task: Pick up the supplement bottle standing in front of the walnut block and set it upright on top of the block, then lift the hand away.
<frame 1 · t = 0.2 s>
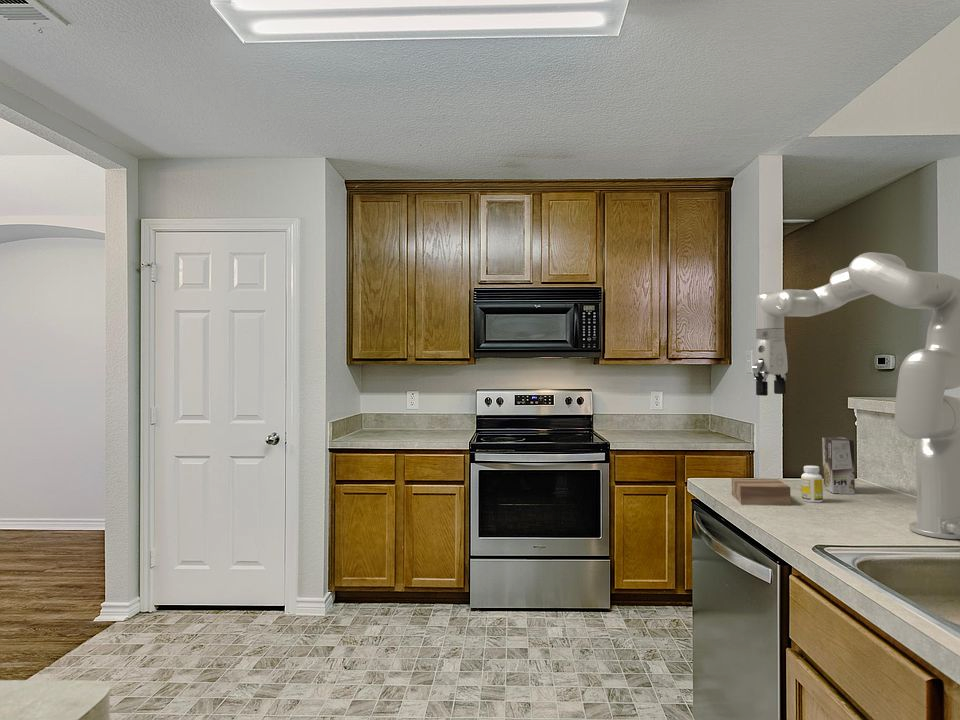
hand: (771, 394, 189), 30 cm above the counter, tool pointing down, fingers open, 9 cm apart
walnut block: (760, 499, 189), on the counter
coffee box: (838, 491, 199), on the counter
supplement bottle: (812, 501, 186), on the counter
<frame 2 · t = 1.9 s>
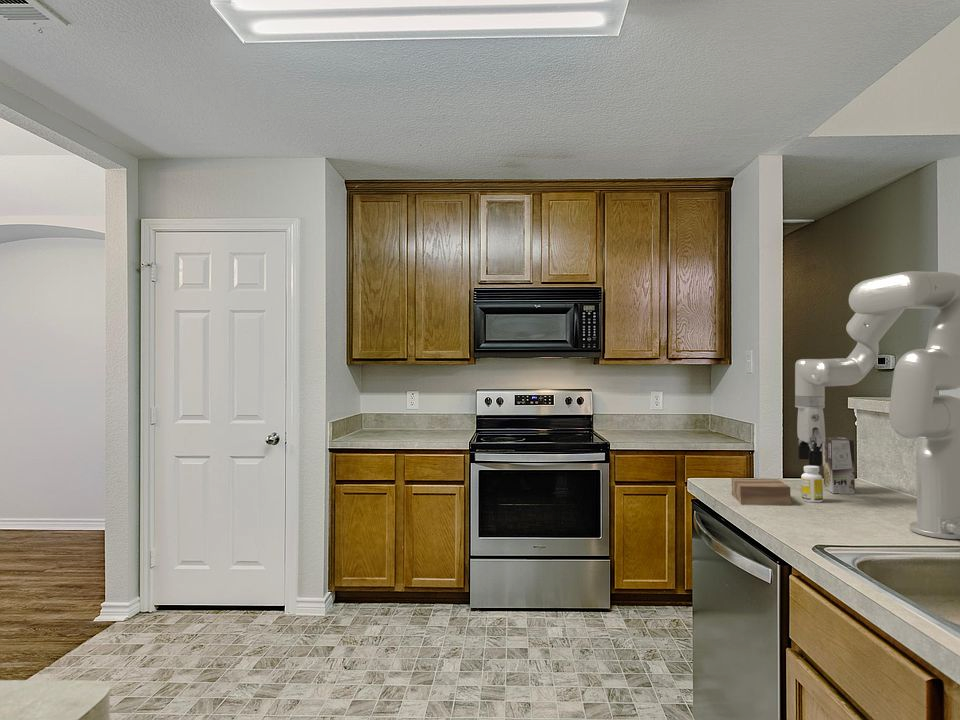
hand: (809, 462, 187), 11 cm above the counter, tool pointing down, fingers open, 9 cm apart
nothing on the counter moved.
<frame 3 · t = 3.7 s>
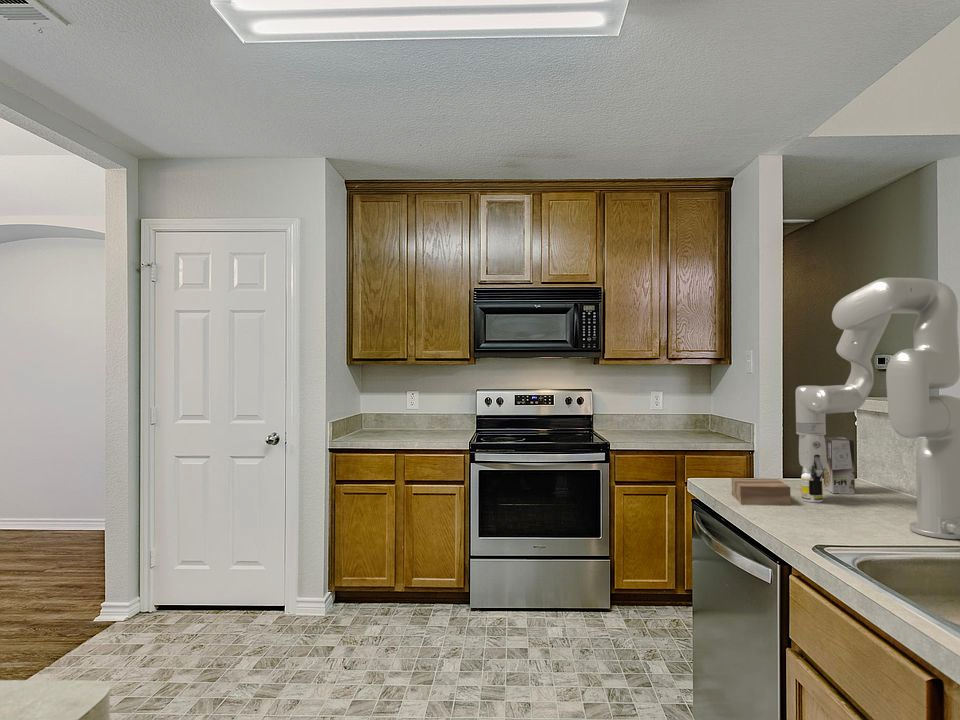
hand: (812, 492, 186), 3 cm above the counter, tool pointing down, fingers closed on supplement bottle, 5 cm apart
supplement bottle: (812, 501, 186), on the counter, touching gripper
everything else where it was.
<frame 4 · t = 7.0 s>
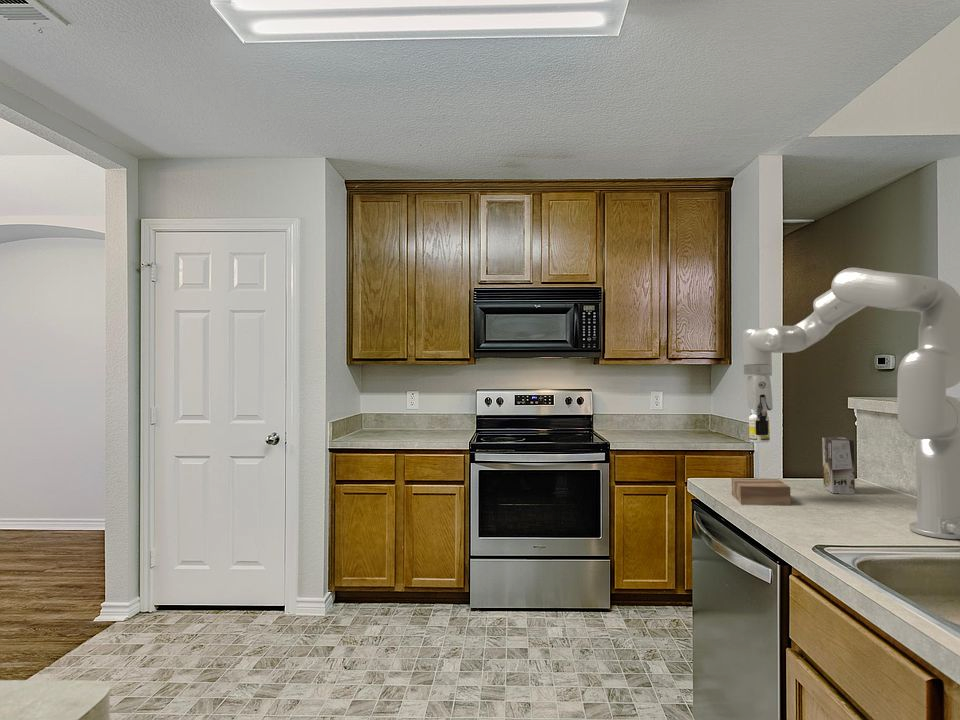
hand: (759, 433, 189), 19 cm above the counter, tool pointing down, fingers closed on supplement bottle, 5 cm apart
supplement bottle: (759, 442, 189), point 17 cm above the counter, touching gripper
everything else where it was.
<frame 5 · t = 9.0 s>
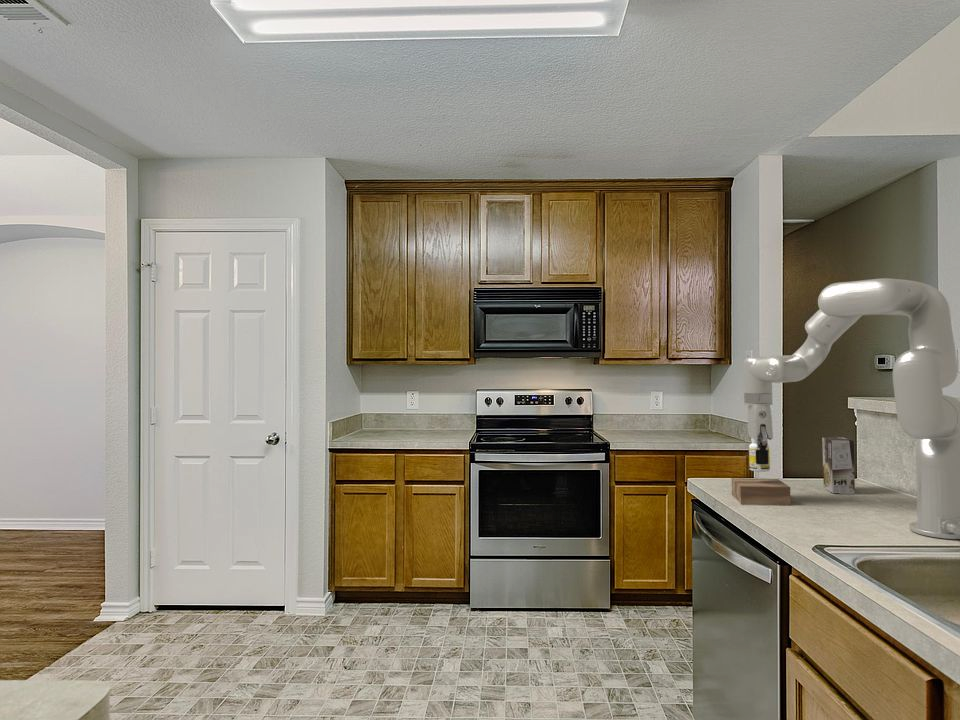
hand: (759, 461, 189), 11 cm above the counter, tool pointing down, fingers closed on supplement bottle, 5 cm apart
supplement bottle: (759, 471, 189), point 8 cm above the counter, touching gripper
everything else where it was.
when the fingers open (9 cm above the counter, at t = 10.7 s): supplement bottle drops 2 cm, resting on walnut block.
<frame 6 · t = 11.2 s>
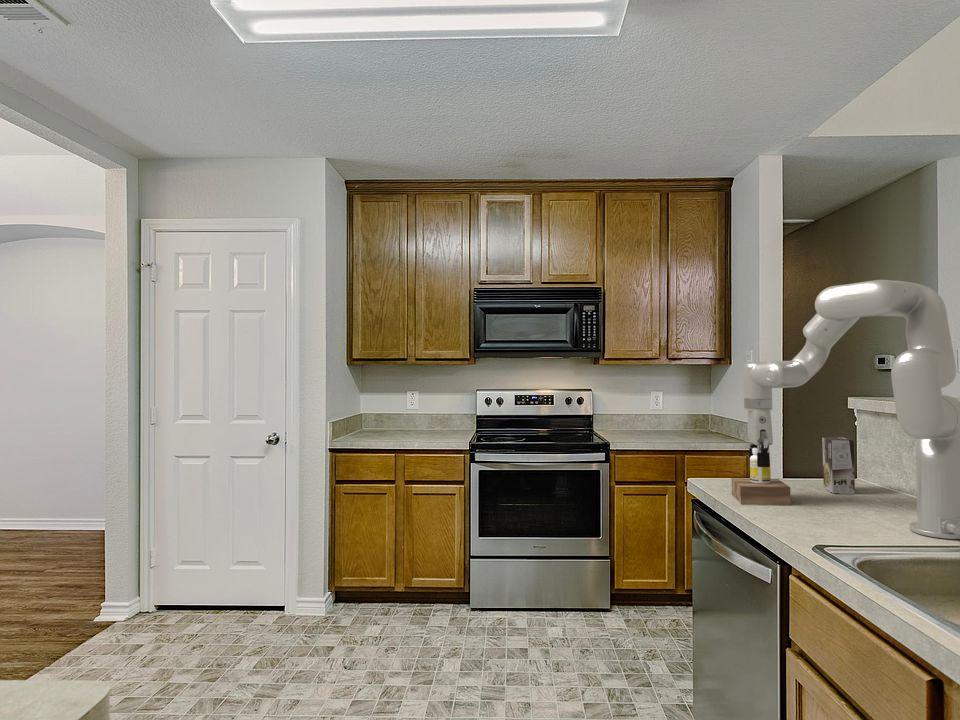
hand: (759, 464, 189), 10 cm above the counter, tool pointing down, fingers open, 9 cm apart
supplement bottle: (760, 483, 189), point 5 cm above the counter, touching walnut block
everything else where it was.
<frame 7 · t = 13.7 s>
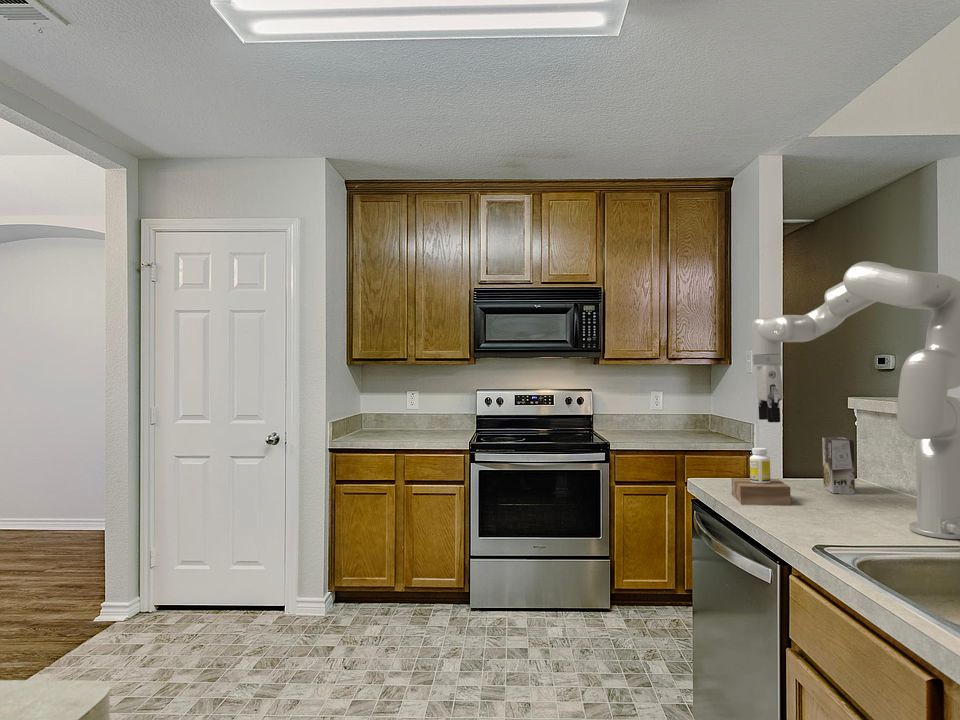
hand: (769, 420, 187), 23 cm above the counter, tool pointing down, fingers open, 9 cm apart
nothing on the counter moved.
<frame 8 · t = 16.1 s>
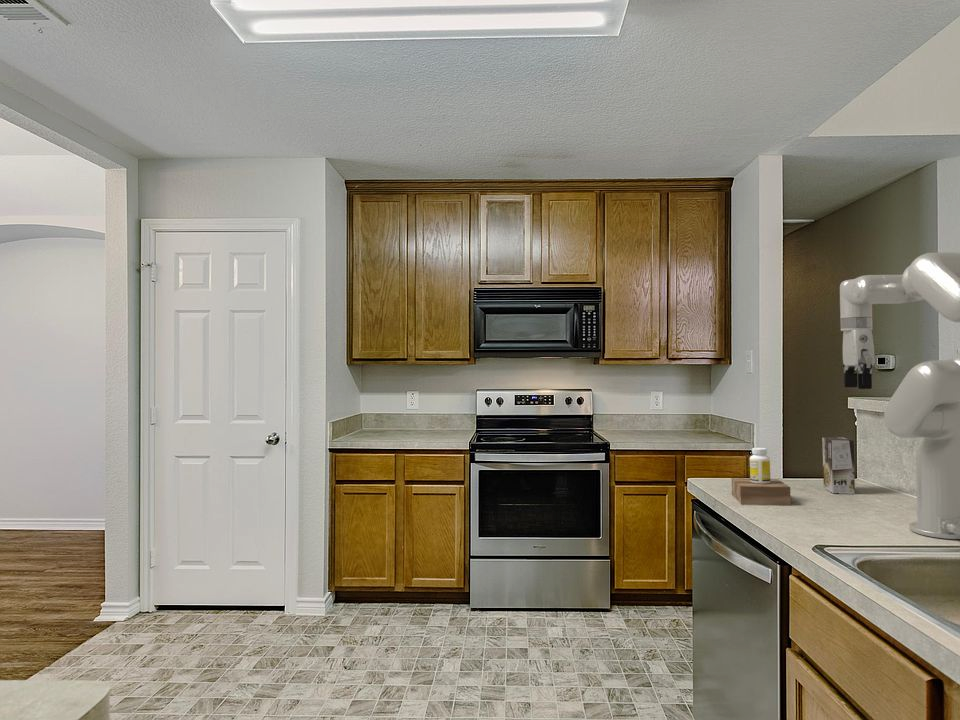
hand: (857, 388, 178), 32 cm above the counter, tool pointing down, fingers open, 9 cm apart
nothing on the counter moved.
at the end: supplement bottle inside the target area on the walnut block (0.2 cm from its centre), point 4.8 cm above the walnut block's base; supplement bottle tilted 0°; the gripper is holding nothing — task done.
